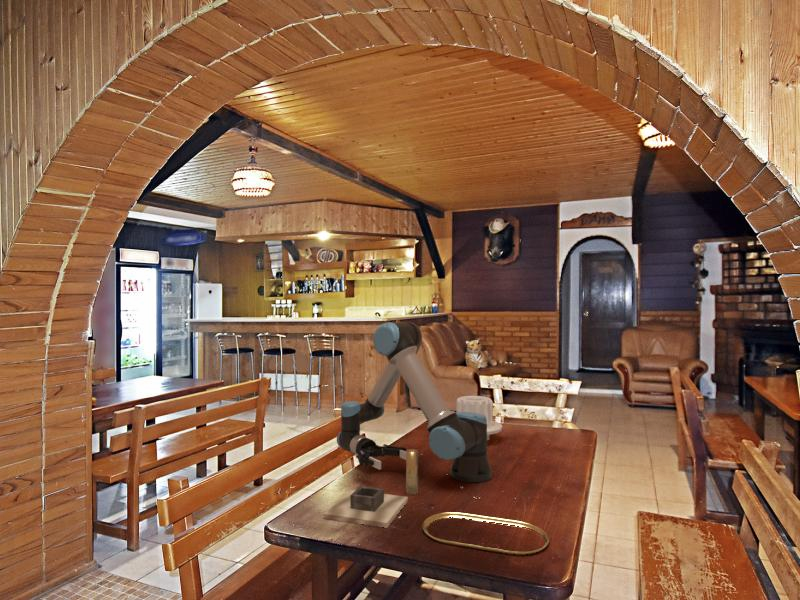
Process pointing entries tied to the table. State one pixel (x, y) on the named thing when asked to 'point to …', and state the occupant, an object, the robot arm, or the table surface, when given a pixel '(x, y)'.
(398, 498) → the socket board
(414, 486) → the brass post
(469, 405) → the flanged gear
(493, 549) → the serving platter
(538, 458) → the table surface
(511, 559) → the table surface
